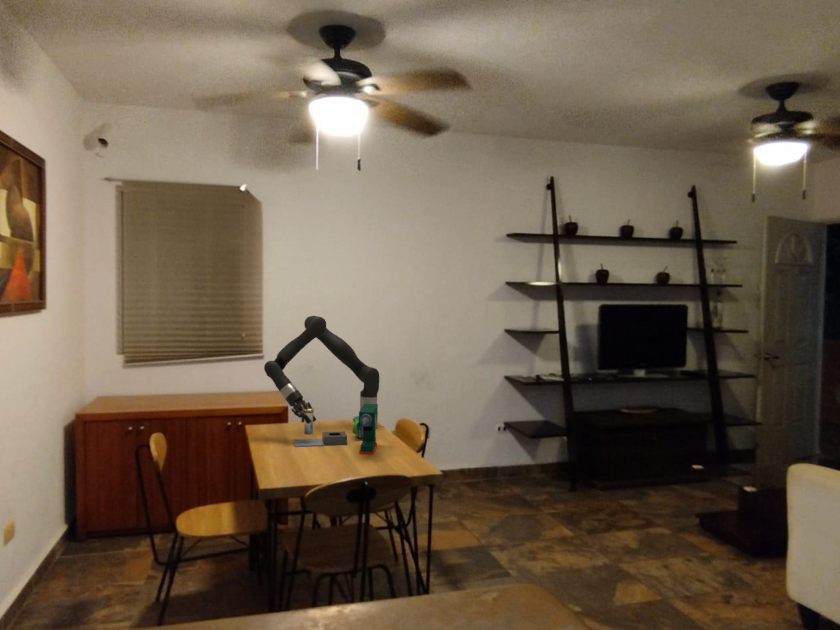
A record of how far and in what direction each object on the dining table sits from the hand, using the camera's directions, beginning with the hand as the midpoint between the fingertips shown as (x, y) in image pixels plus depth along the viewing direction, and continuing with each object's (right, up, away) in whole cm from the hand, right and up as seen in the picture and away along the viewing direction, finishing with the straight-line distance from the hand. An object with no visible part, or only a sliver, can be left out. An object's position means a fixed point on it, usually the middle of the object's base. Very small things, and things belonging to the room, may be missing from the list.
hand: (312, 421), depth 301 cm
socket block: (+10, -11, +4) cm, 15 cm away
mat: (-2, -11, +1) cm, 11 cm away
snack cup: (+23, -11, +15) cm, 30 cm away
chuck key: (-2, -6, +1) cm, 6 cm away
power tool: (+28, -12, -14) cm, 34 cm away
